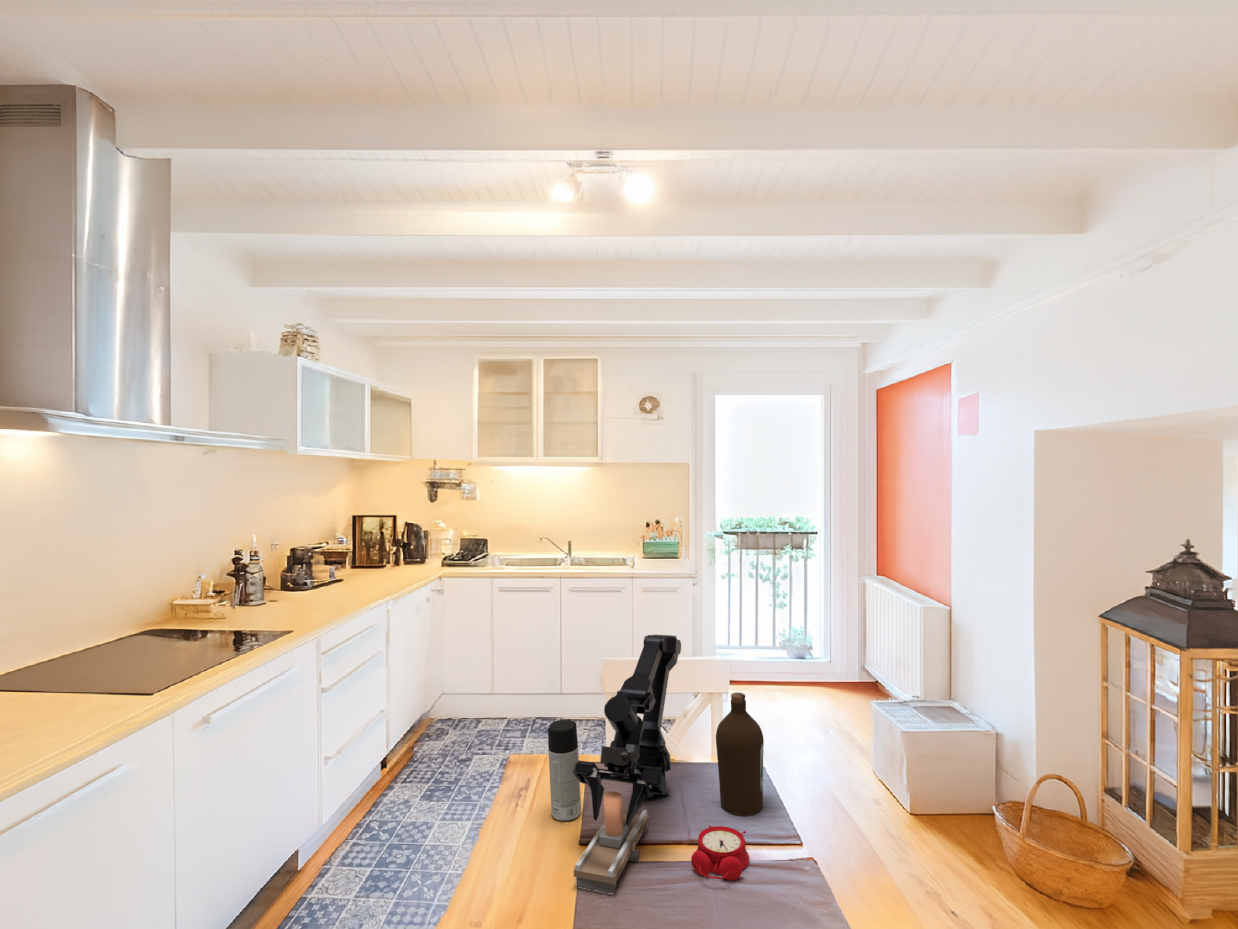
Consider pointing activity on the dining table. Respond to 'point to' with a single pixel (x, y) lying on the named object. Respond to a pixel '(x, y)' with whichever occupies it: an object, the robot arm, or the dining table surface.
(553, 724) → the spray can
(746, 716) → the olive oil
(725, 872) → the alarm clock
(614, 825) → the rider
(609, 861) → the brown piece
